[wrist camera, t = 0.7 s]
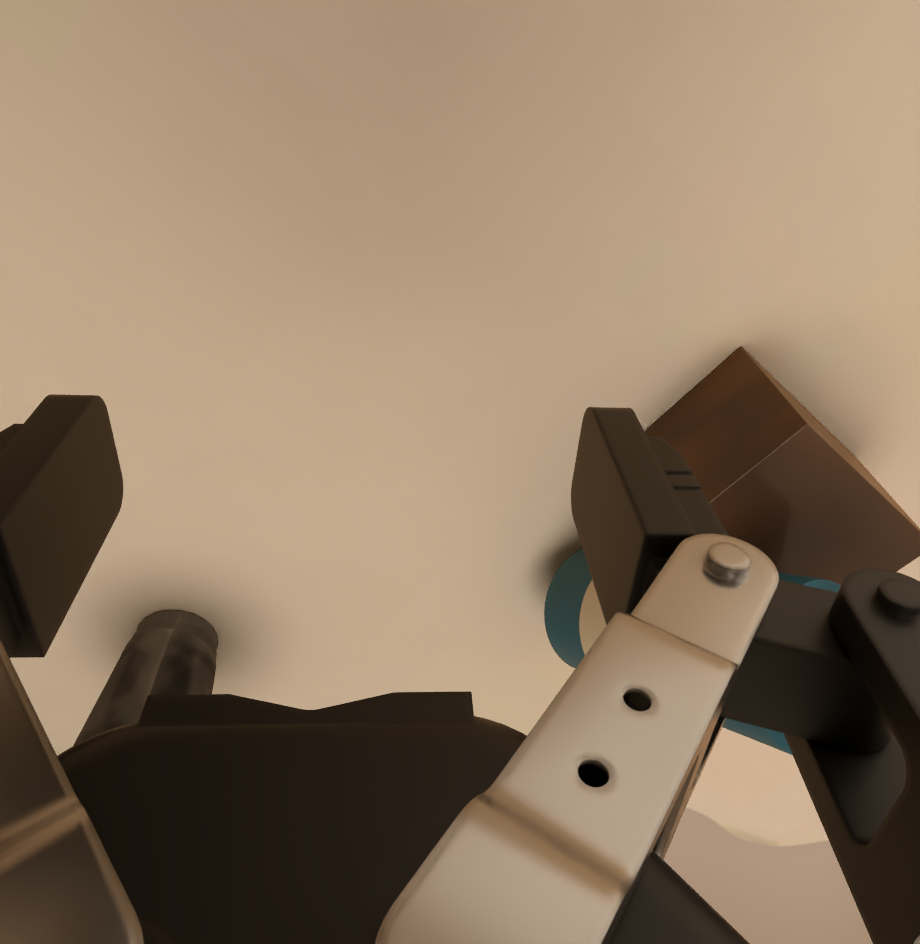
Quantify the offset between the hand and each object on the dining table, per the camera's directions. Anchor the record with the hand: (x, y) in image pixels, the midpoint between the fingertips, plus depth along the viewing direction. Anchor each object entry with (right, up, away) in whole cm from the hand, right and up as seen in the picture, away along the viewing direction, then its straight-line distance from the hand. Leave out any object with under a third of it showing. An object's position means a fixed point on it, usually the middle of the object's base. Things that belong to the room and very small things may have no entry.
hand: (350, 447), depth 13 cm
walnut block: (+17, +1, +25) cm, 30 cm away
